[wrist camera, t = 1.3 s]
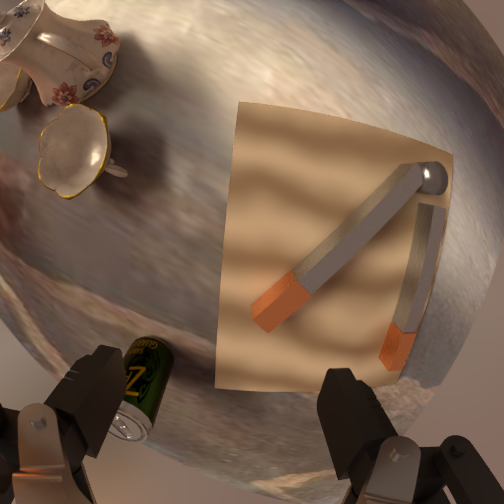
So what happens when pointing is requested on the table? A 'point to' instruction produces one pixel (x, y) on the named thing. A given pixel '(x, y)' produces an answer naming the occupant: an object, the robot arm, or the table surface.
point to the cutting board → (312, 247)
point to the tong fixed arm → (414, 286)
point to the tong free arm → (346, 241)
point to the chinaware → (61, 89)
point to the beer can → (142, 388)
